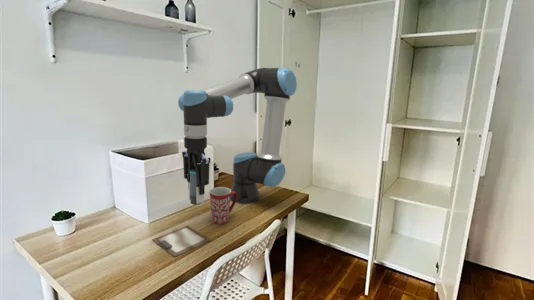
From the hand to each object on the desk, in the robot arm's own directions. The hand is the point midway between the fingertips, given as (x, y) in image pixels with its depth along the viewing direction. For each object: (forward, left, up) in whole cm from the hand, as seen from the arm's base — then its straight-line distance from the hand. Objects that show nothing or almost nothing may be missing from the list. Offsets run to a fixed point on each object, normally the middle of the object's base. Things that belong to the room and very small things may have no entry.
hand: (196, 200), depth 105 cm
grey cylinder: (0, 0, -1) cm, 1 cm away
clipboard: (+4, -4, -16) cm, 17 cm away
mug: (-18, -6, -16) cm, 25 cm away
